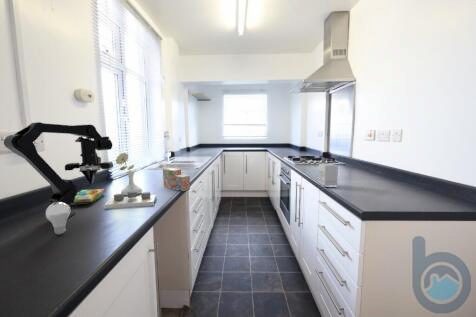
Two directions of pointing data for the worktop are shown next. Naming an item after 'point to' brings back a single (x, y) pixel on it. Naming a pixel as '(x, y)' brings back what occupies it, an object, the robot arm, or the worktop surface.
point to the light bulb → (58, 216)
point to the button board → (130, 202)
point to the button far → (145, 195)
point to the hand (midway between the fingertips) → (91, 183)
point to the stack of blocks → (176, 179)
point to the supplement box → (328, 174)
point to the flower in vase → (131, 185)
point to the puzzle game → (88, 196)
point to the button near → (118, 197)
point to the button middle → (132, 194)
